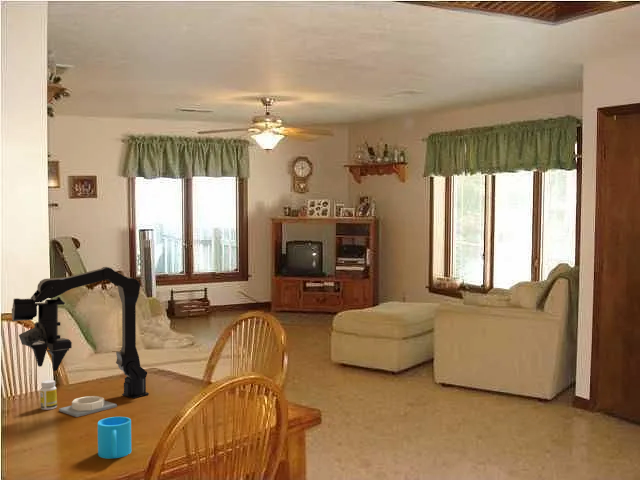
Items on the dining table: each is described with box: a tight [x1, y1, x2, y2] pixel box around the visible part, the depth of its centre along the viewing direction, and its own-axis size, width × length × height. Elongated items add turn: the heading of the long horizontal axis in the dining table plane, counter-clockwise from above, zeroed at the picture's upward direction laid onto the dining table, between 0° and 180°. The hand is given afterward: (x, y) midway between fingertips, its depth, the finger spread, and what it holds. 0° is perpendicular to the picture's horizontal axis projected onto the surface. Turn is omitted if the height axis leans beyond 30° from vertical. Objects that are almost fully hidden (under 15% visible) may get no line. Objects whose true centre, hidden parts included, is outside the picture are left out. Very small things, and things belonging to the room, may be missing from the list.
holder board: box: [58, 395, 118, 418], centre depth 214 cm, size 14×10×3 cm
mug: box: [97, 416, 132, 459], centre depth 173 cm, size 12×8×8 cm
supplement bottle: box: [39, 379, 58, 411], centre depth 215 cm, size 5×5×8 cm
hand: (47, 368), depth 215 cm, fingers open, 9 cm apart
